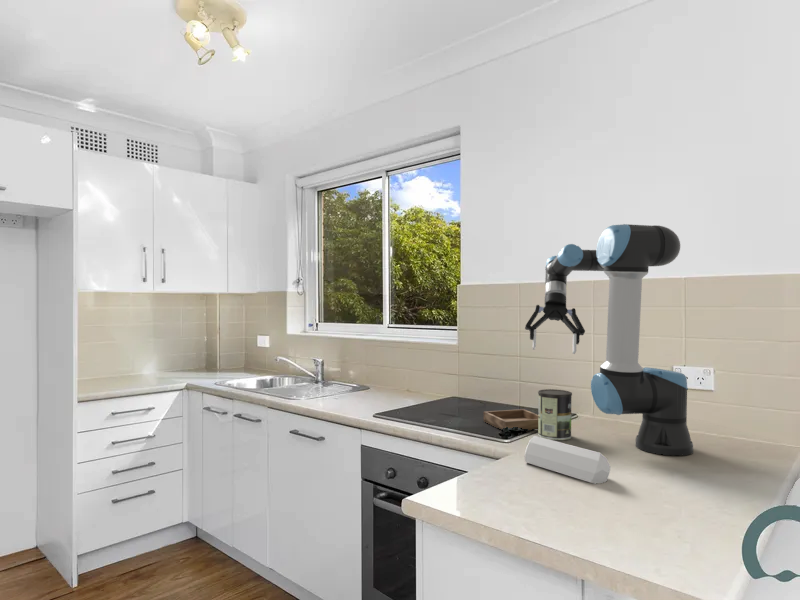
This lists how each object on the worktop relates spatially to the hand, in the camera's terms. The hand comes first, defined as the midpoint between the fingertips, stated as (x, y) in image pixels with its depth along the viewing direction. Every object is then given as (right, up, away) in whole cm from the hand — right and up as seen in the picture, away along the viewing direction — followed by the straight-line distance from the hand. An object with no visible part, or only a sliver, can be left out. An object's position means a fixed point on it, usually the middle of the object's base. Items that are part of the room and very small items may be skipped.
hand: (554, 350), depth 188 cm
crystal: (-11, -26, -50) cm, 57 cm away
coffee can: (-4, -26, -16) cm, 31 cm away
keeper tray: (-14, -25, -2) cm, 29 cm away
